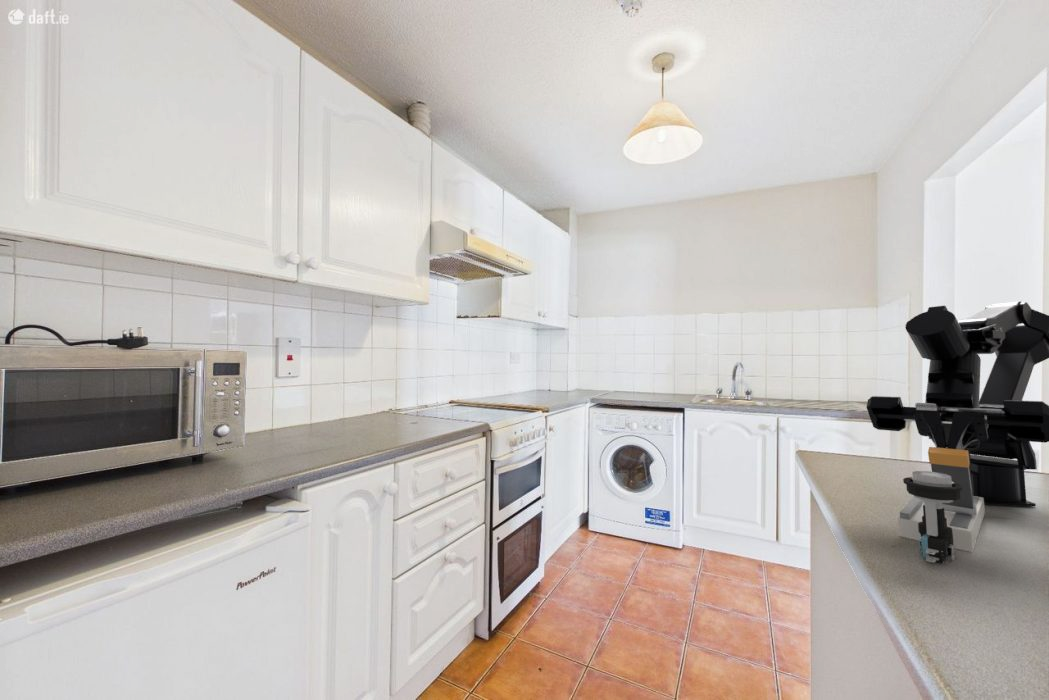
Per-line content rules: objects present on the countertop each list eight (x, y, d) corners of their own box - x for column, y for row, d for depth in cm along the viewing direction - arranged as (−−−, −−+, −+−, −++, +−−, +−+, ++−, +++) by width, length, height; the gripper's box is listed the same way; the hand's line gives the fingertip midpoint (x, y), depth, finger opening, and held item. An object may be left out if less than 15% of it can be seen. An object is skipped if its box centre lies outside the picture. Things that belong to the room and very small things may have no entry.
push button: (961, 574, 48) (955, 484, 49) (900, 558, 52) (894, 476, 53) (971, 557, 52) (965, 474, 53) (913, 543, 56) (908, 467, 57)
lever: (937, 504, 62) (928, 446, 60) (976, 510, 59) (969, 450, 57) (935, 511, 61) (926, 452, 59) (976, 518, 58) (968, 456, 56)
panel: (923, 503, 72) (922, 483, 72) (984, 513, 66) (983, 492, 66) (899, 536, 59) (897, 511, 59) (972, 552, 54) (970, 525, 54)
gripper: (1050, 418, 63) (1057, 512, 55) (886, 410, 77) (874, 484, 70) (1046, 366, 58) (1052, 461, 51) (873, 367, 72) (858, 441, 65)
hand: (946, 463), depth 59 cm, fingers closed, pressing on lever
